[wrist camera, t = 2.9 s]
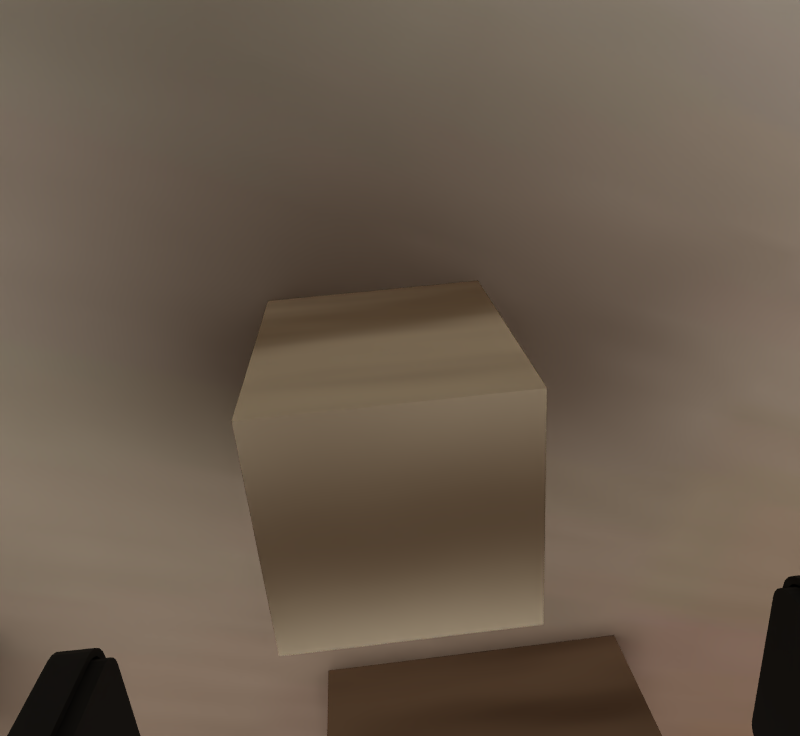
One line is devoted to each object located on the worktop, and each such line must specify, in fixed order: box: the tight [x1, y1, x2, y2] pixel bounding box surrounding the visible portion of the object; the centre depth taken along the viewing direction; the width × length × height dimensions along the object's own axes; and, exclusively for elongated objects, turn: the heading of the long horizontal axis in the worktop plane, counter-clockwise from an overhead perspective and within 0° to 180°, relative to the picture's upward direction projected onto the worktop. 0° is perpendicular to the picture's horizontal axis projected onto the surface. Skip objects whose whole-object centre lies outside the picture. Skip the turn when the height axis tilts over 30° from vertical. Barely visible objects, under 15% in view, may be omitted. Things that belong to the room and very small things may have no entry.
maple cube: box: [232, 281, 547, 656], centre depth 14 cm, size 5×5×6 cm
